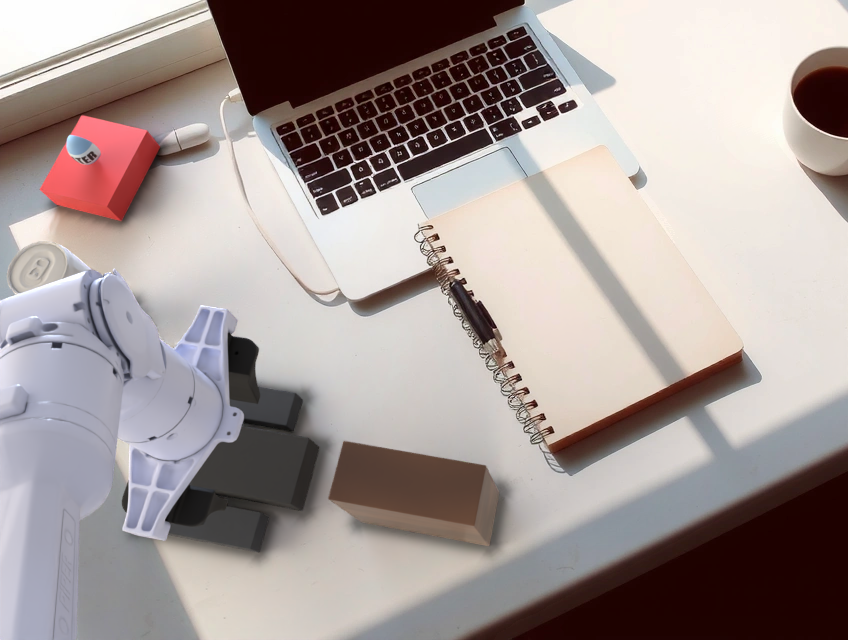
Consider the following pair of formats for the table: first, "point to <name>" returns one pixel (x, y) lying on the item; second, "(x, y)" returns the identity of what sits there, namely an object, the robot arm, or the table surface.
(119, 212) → the red slab
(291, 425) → the base pad
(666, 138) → the table surface
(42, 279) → the beverage can
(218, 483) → the black pad
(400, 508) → the brown wooden brick
